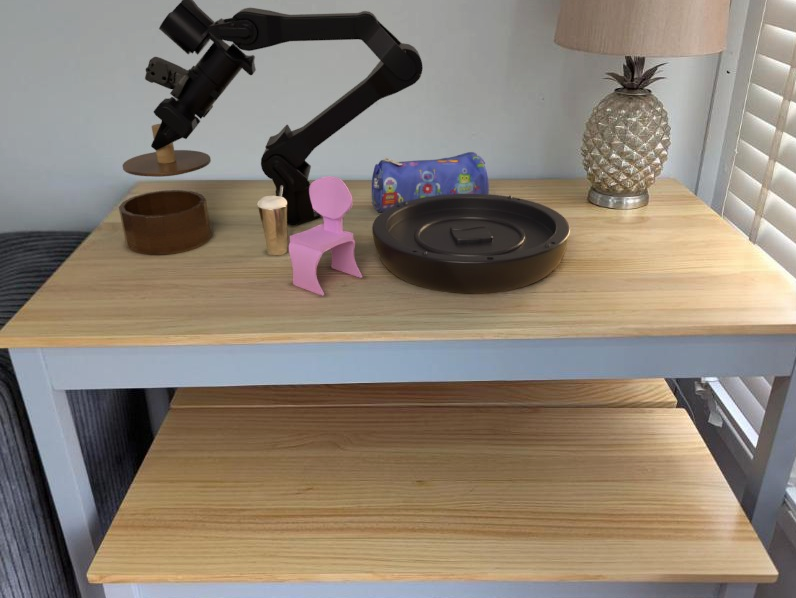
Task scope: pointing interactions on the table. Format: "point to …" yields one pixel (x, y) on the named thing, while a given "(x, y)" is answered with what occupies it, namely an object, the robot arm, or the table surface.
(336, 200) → the toy chair
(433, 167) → the pencil case
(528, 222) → the round tray
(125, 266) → the table surface
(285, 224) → the milkshake
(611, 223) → the table surface
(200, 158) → the lid
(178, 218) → the bowl
